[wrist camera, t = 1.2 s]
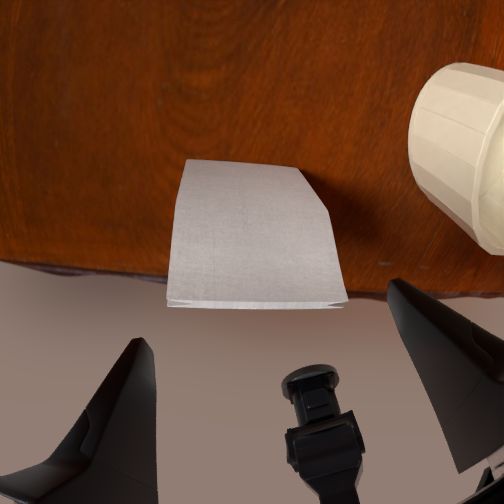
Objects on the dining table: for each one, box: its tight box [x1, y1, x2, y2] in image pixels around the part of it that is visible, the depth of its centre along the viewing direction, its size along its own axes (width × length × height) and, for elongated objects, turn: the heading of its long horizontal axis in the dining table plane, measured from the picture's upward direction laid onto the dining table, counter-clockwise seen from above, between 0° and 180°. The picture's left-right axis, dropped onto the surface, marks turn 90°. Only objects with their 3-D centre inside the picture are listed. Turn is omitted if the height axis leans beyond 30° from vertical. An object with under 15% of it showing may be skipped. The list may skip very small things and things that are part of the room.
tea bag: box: [166, 159, 349, 309], centre depth 15 cm, size 4×7×10 cm, turn 83°
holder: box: [408, 62, 504, 255], centre depth 15 cm, size 12×12×7 cm
